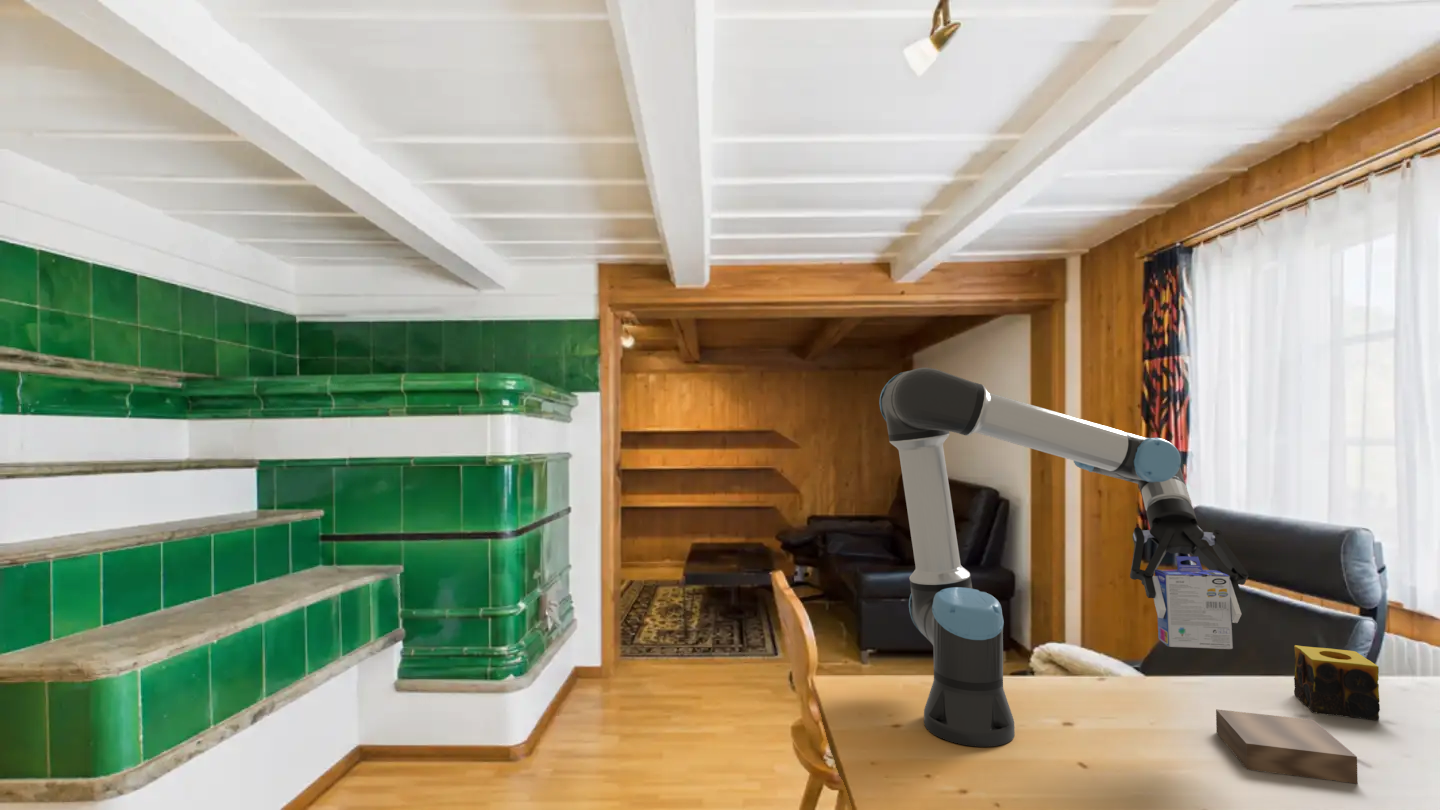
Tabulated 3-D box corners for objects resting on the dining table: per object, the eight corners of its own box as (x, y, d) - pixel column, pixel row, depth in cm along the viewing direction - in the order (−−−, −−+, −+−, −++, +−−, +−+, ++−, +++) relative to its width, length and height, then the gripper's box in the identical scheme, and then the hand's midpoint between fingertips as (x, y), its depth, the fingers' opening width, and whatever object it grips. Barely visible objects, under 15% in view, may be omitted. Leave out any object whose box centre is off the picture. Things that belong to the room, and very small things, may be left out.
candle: (1312, 713, 133) (1310, 659, 133) (1292, 694, 142) (1291, 644, 142) (1382, 722, 129) (1380, 666, 129) (1356, 702, 138) (1355, 650, 139)
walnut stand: (1246, 769, 111) (1246, 743, 111) (1216, 732, 125) (1216, 709, 125) (1357, 783, 107) (1357, 756, 107) (1313, 743, 120) (1313, 719, 120)
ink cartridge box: (1218, 640, 122) (1215, 555, 123) (1235, 650, 117) (1232, 561, 117) (1155, 638, 124) (1152, 554, 125) (1168, 648, 119) (1166, 560, 119)
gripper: (1235, 522, 132) (1274, 633, 117) (1099, 519, 139) (1119, 623, 124) (1245, 497, 127) (1287, 608, 112) (1103, 495, 134) (1125, 599, 119)
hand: (1198, 616), depth 118 cm, fingers closed on ink cartridge box, 10 cm apart
